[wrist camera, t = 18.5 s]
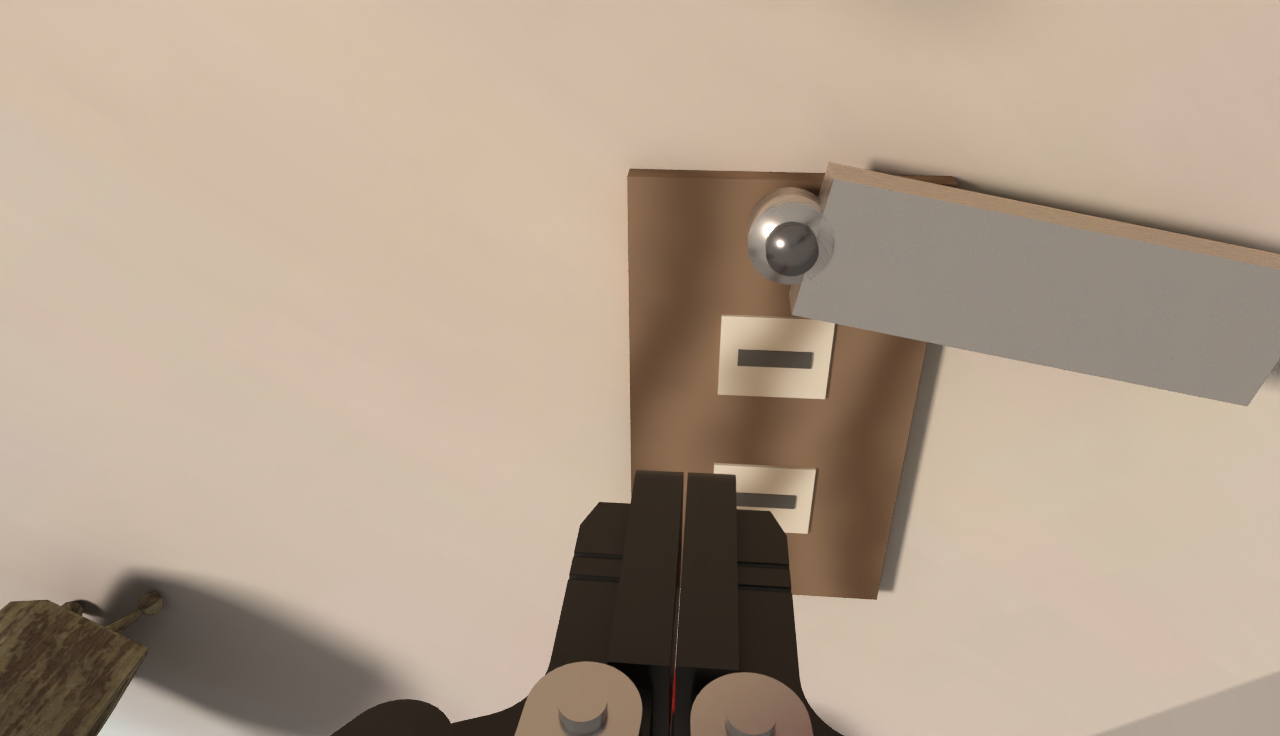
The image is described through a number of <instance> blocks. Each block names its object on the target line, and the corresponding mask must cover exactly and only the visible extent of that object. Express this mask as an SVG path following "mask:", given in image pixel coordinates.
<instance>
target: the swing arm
mask: <svg viewBox="0 0 1280 736" xmlns="http://www.w3.org/2000/svg"><path fill="white" fill-rule="evenodd" d="M747 238H748V253H749V257H750V260H751V262H752V264H753V266H754V267H755V269H756V270H757V271H758V272H759V273H760V274H761V275H762V276H763V277H765V278H766V279H768V280H770V281H773V282H775V283H779V284H786V285H791V288H790V291H789V298H790V305H791V312H792V315H795V316H800V317H805V318H810V319H815V320H820V321H825V322H830V323H834V324H839V325H844V326H849V327H854V328H859V329H864V330H869V331H874V332H879V333H884V334H889V335H894V336H899V337H904V338H909V339H914V340H919V341H924V342H929V343H934V344H939V345H944V346H949V347H954V348H959V349H964V350H969V351H974V352H979V353H984V354H989V355H994V356H999V357H1004V358H1009V359H1014V360H1019V361H1024V362H1029V363H1034V364H1039V365H1044V366H1049V367H1054V368H1059V369H1064V370H1069V371H1074V372H1079V373H1084V374H1089V375H1094V376H1099V377H1104V378H1109V379H1114V380H1119V381H1124V382H1129V383H1134V384H1139V385H1144V386H1149V387H1154V388H1158V389H1163V390H1168V391H1173V392H1178V393H1183V394H1188V395H1193V396H1198V397H1203V398H1208V399H1213V400H1218V401H1223V402H1228V403H1233V404H1238V405H1243V406H1248V405H1249V403H1250V402H1251V400H1252V399H1253V397H1254V396H1255V394H1256V393H1257V392H1258V390H1259V389H1260V387H1261V386H1262V384H1263V383H1264V381H1265V380H1266V378H1267V377H1268V375H1269V374H1270V372H1271V371H1272V369H1273V368H1274V366H1275V365H1276V364H1277V362H1278V361H1279V359H1280V254H1277V253H1272V252H1267V251H1262V250H1257V249H1252V248H1247V247H1242V246H1237V245H1232V244H1228V243H1223V242H1218V241H1213V240H1208V239H1203V238H1198V237H1193V236H1188V235H1183V234H1178V233H1174V232H1169V231H1164V230H1159V229H1154V228H1149V227H1144V226H1139V225H1134V224H1129V223H1125V222H1120V221H1115V220H1110V219H1105V218H1100V217H1095V216H1090V215H1085V214H1080V213H1076V212H1071V211H1066V210H1061V209H1056V208H1051V207H1046V206H1041V205H1036V204H1031V203H1027V202H1022V201H1017V200H1012V199H1007V198H1002V197H997V196H992V195H987V194H982V193H978V192H973V191H968V190H963V189H958V188H953V187H948V186H943V185H938V184H933V183H929V182H924V181H919V180H914V179H909V178H904V177H899V176H894V175H889V174H884V173H880V172H875V171H870V170H865V169H860V168H855V167H850V166H845V165H840V164H835V163H831V162H829V163H828V166H827V169H826V173H825V176H824V179H823V182H822V186H821V189H820V192H819V196H818V197H817V196H815V195H814V194H813V193H811V192H809V191H807V190H804V189H801V188H795V187H786V188H780V189H777V190H774V191H771V192H770V193H768V194H766V195H765V196H763V197H762V198H761V199H760V200H759V201H758V202H757V203H756V204H755V205H754V207H753V208H752V210H751V212H750V214H749V217H748V222H747Z"/></svg>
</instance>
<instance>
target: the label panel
mask: <svg viewBox="0 0 1280 736" xmlns="http://www.w3.org/2000/svg"><path fill="white" fill-rule="evenodd" d="M824 176H825V173H784V172H741V171H698V170H654V169H630V170H629V173H628V176H627V181H628V260H629V338H630V416H631V494H632V492H633V485H634V478H635V473H636V470H650V471H670V472H684V491H683V527H682V558H683V542H684V526H685V510H686V494H687V479H688V472H694V473H713V474H733V475H736V505H737V509H742V510H761V511H771V513H772V514H773V516H774V517H775V519H776V520H777V522H778V523H779V525H780V526H781V528H782V529H783V531H784V532H785V534H786V535H787V542H788V554H789V570H790V576H791V593H792V594H793V595H810V596H826V597H843V598H859V599H875V600H877V595H878V590H879V585H880V580H881V575H882V570H883V564H884V559H885V554H886V549H887V544H888V539H889V534H890V529H891V524H892V519H893V513H894V508H895V503H896V498H897V493H898V488H899V483H900V478H901V473H902V467H903V462H904V457H905V452H906V447H907V442H908V437H909V432H910V427H911V422H912V416H913V411H914V406H915V401H916V396H917V391H918V386H919V381H920V376H921V370H922V365H923V360H924V355H925V350H926V345H927V342H924V341H919V340H914V339H909V338H904V337H899V336H894V335H889V334H884V333H879V332H874V331H869V330H864V329H859V328H854V327H849V326H844V325H839V324H834V323H830V322H825V321H820V320H815V319H810V318H805V317H800V316H795V315H792V312H791V305H790V298H789V291H790V288H791V285H786V284H779V283H775V282H773V281H770V280H768V279H766V278H765V277H763V276H762V275H761V274H760V273H759V272H758V271H757V270H756V269H755V267H754V266H753V264H752V262H751V260H750V257H749V253H748V238H747V222H748V217H749V214H750V212H751V210H752V208H753V207H754V205H755V204H756V203H757V202H758V201H759V200H760V199H761V198H762V197H763V196H765V195H766V194H768V193H770V192H771V191H774V190H777V189H780V188H786V187H795V188H801V189H804V190H807V191H809V192H811V193H813V194H814V195H815V196H817V197H818V196H819V192H820V189H821V186H822V182H823V179H824ZM894 176H899V177H904V178H909V179H914V180H919V181H924V182H929V183H933V184H938V185H943V186H948V187H953V188H957V187H958V184H957V182H956V181H955V180H954V178H953V177H952V176H915V175H894ZM681 574H682V559H681ZM680 588H681V581H680Z"/></svg>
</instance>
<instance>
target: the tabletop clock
mask: <svg viewBox="0 0 1280 736" xmlns="http://www.w3.org/2000/svg"><path fill="white" fill-rule="evenodd" d="M162 606H163V599H162V597H161V596H160V594H157V593H154V592H150V593H147V594H145V595H144V596H142V597H141V598H140V600H139V602H138V609H136V610H135V611H133V612H131V613H130V614H128V615H126V616H124V617H123V618H121V619H119V620H118V621H116V622H114V623H112V624H110V625H107V626H104V627H103V626H101V625H99V624H97V623H95V622H93V621H91V620H89V619H87V618H85V617H82V613H83V607H82V606H81V605H80V603H78V602H74V601H71V602H66V603H65V604H63V605H62V606H59V605H57V604H55V603H53V602H51V601H49V600H34V601H14V602H10V603H8V604H7V605H6V606H5V607H4V608H2V609H1V610H0V736H97V735H98V733H99V732H100V730H101V729H102V727H103V726H104V724H105V723H106V721H107V720H108V718H109V716H110V715H111V713H112V712H113V710H114V708H115V707H116V705H117V703H118V702H119V700H120V698H121V697H122V695H123V693H124V692H125V690H126V688H127V687H128V685H129V683H130V682H131V680H132V678H133V677H134V675H135V673H136V671H137V670H138V668H139V666H140V664H141V663H142V661H143V659H144V657H145V655H146V654H147V652H148V649H149V648H148V647H146V646H144V645H141V644H139V643H137V642H135V641H133V640H131V639H129V638H127V637H125V636H122V635H120V634H119V633H120V632H121V631H122V630H124V629H125V628H126V627H127V626H128V625H130V624H131V623H132V622H133V621H134V620H136V619H137V618H138V617H139V616H140V615H142V614H145V615H153V614H155V613H157V612H158V611H159V610H161V608H162Z"/></svg>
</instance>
